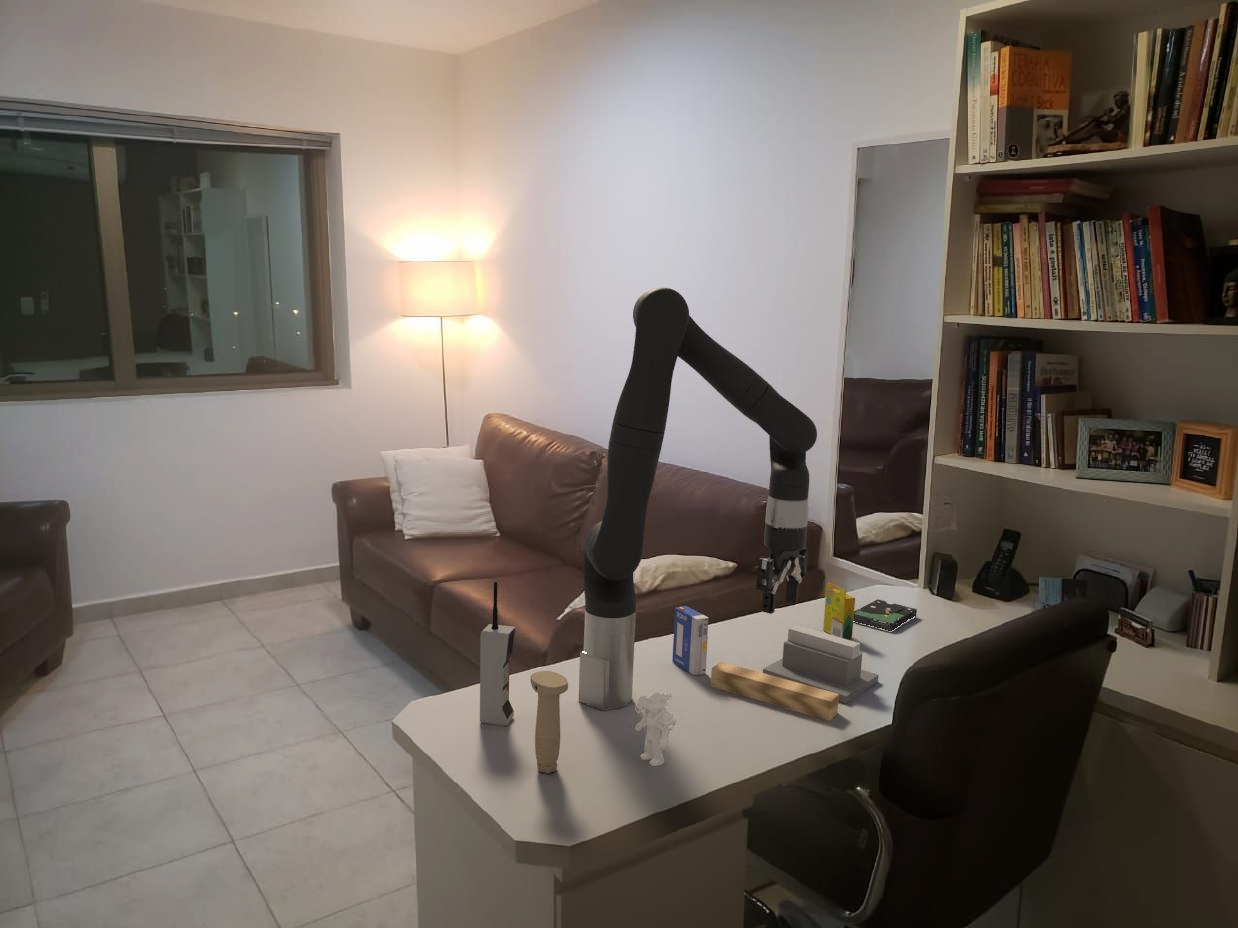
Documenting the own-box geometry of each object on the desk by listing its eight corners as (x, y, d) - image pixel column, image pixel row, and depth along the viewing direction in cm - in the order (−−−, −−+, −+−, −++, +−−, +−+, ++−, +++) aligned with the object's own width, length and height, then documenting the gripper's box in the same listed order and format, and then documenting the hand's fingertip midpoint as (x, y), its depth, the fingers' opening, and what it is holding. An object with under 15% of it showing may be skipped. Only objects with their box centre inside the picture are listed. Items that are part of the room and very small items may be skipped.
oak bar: (837, 714, 169) (839, 693, 168) (829, 722, 165) (831, 701, 165) (720, 680, 181) (721, 661, 181) (710, 687, 178) (711, 667, 177)
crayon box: (852, 640, 205) (856, 590, 203) (841, 641, 204) (845, 591, 202) (833, 629, 212) (837, 580, 210) (822, 630, 211) (826, 581, 209)
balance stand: (845, 703, 172) (849, 657, 171) (762, 675, 184) (765, 632, 182) (878, 681, 183) (882, 638, 181) (797, 656, 194) (800, 615, 193)
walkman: (672, 661, 189) (674, 605, 187) (683, 659, 191) (686, 604, 188) (694, 675, 182) (697, 618, 180) (706, 673, 184) (709, 615, 182)
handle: (547, 756, 148) (550, 668, 146) (571, 773, 144) (574, 682, 141) (522, 765, 145) (524, 675, 143) (545, 782, 141) (548, 689, 138)
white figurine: (678, 768, 146) (682, 697, 144) (658, 774, 144) (662, 702, 142) (646, 744, 154) (649, 676, 151) (626, 750, 151) (629, 681, 149)
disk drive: (875, 609, 229) (849, 623, 217) (876, 598, 228) (850, 612, 217) (916, 619, 222) (891, 634, 211) (917, 608, 222) (892, 622, 211)
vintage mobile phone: (507, 726, 158) (509, 586, 154) (479, 723, 159) (481, 583, 155) (514, 717, 162) (516, 580, 157) (486, 713, 163) (488, 577, 158)
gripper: (787, 511, 175) (781, 593, 178) (747, 523, 164) (741, 611, 167) (823, 519, 170) (816, 603, 173) (785, 531, 159) (778, 621, 162)
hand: (779, 606), depth 170 cm, fingers open, 8 cm apart
